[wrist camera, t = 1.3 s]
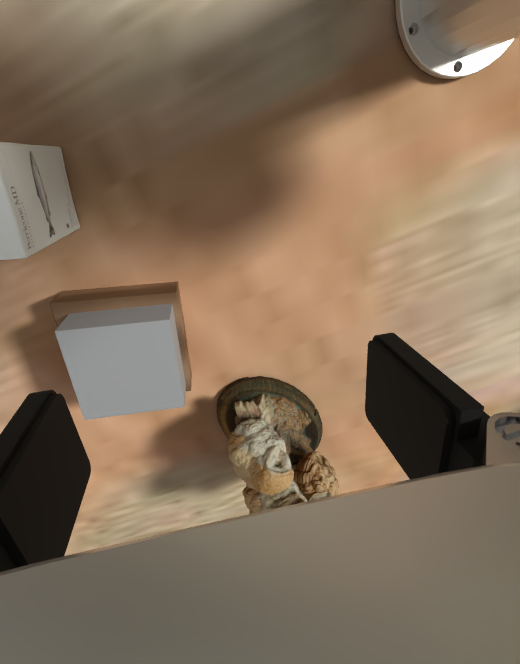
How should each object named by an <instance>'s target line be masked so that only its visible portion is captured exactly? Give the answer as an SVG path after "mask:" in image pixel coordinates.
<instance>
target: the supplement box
mask: <svg viewBox="0 0 520 664" xmlns="http://www.w3.org/2000/svg"><path fill="white" fill-rule="evenodd" d="M79 228H80V224H79V221H78V218H77V214H76V211H75V207H74V203H73V199H72V195H71V191H70V187H69V183H68V178H67V174H66V170H65V165H64V160H63V155H62V150H61V148H60V147H58V146H44V145H29V144H19V143H10V142H0V260H11V259H24V258H27V257H29V256H31V255H33V254H35V253H37V252H38V251H40V250H42V249H44V248H46V247H47V246H49V245H51V244H53V243H54V242H56V241H58V240H60V239H61V238H63V237H65V236H67V235H69V234H71V233H72V232H74V231H76V230H78V229H79Z"/></svg>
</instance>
